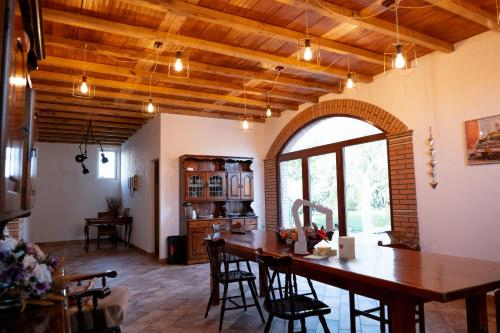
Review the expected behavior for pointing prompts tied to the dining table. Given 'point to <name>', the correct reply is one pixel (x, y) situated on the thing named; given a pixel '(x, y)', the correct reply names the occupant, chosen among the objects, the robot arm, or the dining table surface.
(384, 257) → the dining table surface
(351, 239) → the supplement box
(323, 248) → the card
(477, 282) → the dining table surface
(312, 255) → the mat
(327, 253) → the deck
